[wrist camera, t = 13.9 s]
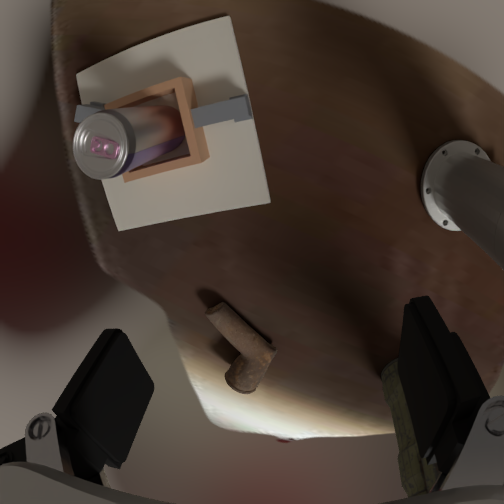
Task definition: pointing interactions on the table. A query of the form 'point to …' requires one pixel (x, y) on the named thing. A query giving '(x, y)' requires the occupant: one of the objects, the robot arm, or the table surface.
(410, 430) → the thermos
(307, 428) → the table surface
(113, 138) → the beverage can
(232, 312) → the pipe
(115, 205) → the white board with box
